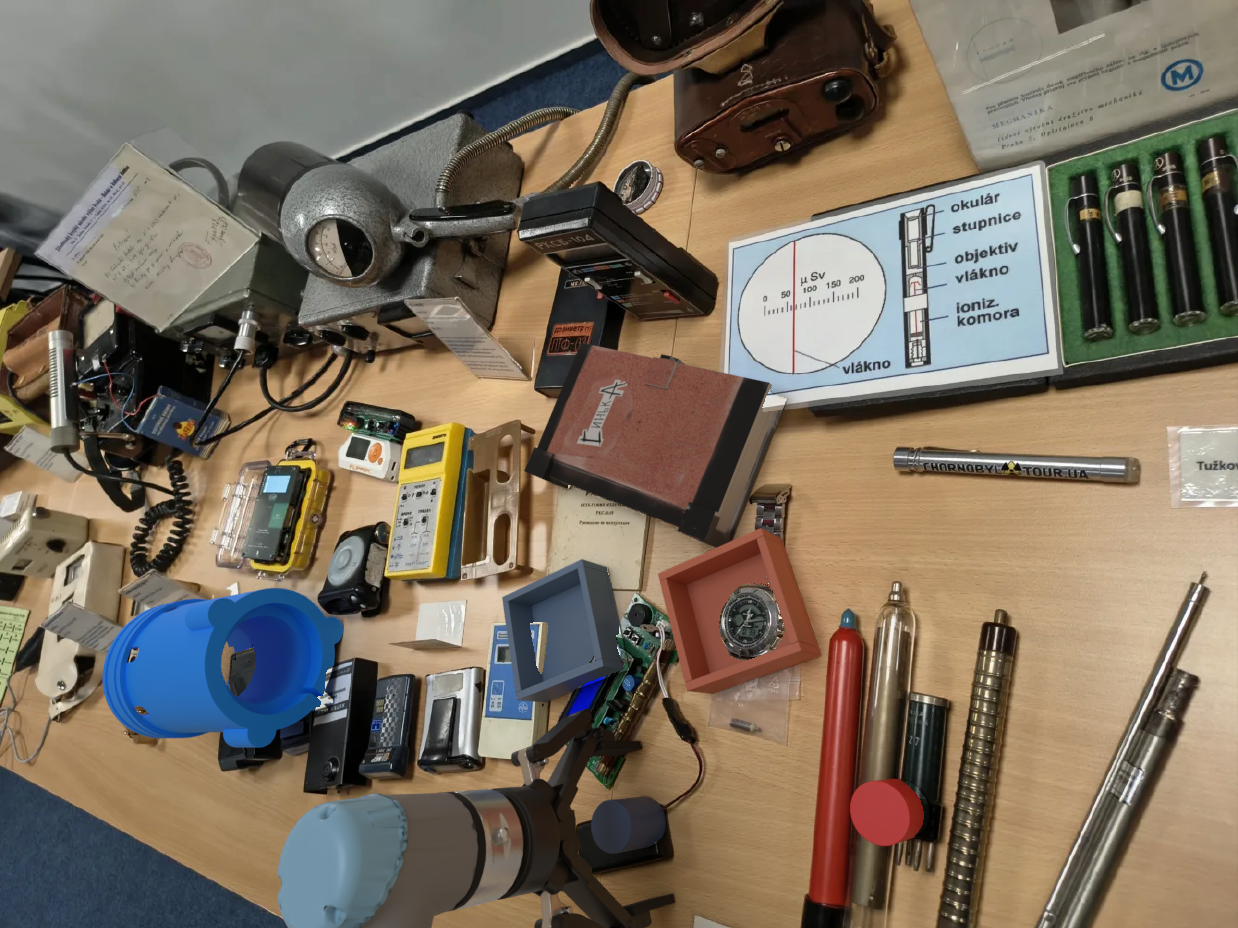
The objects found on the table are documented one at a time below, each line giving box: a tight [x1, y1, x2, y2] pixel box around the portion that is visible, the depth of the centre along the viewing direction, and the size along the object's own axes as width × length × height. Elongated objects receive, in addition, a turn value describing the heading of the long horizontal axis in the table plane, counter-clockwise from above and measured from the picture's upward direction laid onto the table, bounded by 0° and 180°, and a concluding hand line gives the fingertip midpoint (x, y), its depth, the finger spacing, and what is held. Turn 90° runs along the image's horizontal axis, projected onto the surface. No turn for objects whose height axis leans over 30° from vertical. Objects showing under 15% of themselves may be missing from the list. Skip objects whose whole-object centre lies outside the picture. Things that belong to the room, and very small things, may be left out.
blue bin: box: [501, 558, 624, 703], centre depth 82 cm, size 12×12×5 cm
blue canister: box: [590, 796, 667, 855], centre depth 70 cm, size 4×4×6 cm
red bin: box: [657, 527, 822, 695], centre depth 71 cm, size 12×12×5 cm
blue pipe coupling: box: [101, 587, 344, 749], centre depth 105 cm, size 25×22×19 cm
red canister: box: [849, 778, 924, 847], centre depth 58 cm, size 4×4×6 cm
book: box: [523, 342, 784, 548], centre depth 83 cm, size 26×18×5 cm
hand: (645, 820), depth 73 cm, fingers open, 13 cm apart
